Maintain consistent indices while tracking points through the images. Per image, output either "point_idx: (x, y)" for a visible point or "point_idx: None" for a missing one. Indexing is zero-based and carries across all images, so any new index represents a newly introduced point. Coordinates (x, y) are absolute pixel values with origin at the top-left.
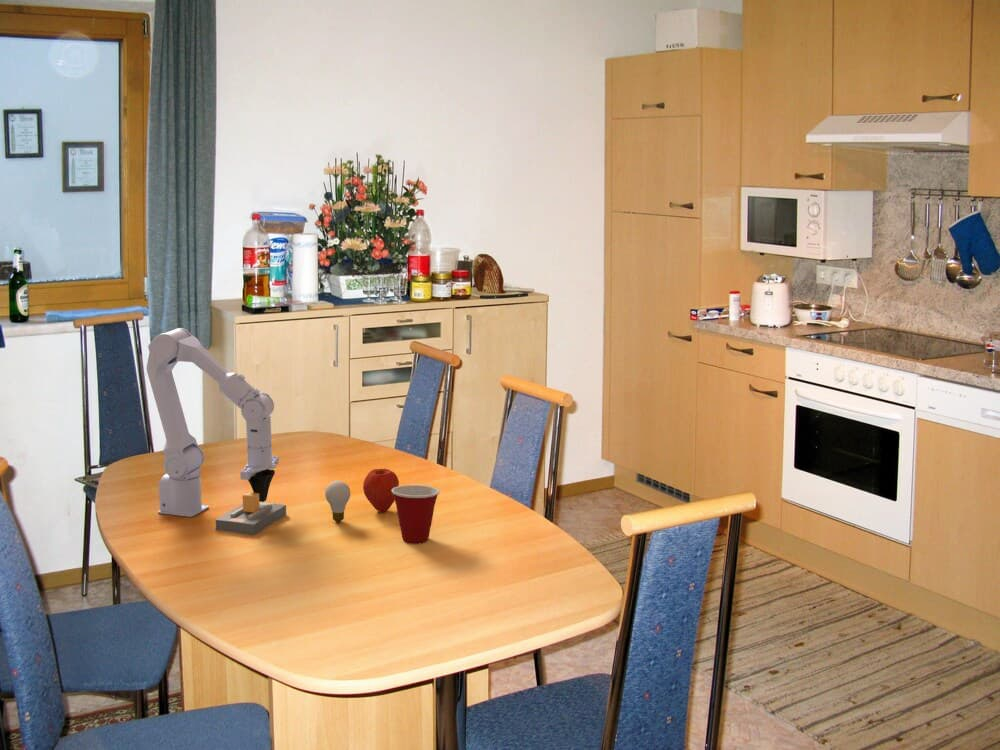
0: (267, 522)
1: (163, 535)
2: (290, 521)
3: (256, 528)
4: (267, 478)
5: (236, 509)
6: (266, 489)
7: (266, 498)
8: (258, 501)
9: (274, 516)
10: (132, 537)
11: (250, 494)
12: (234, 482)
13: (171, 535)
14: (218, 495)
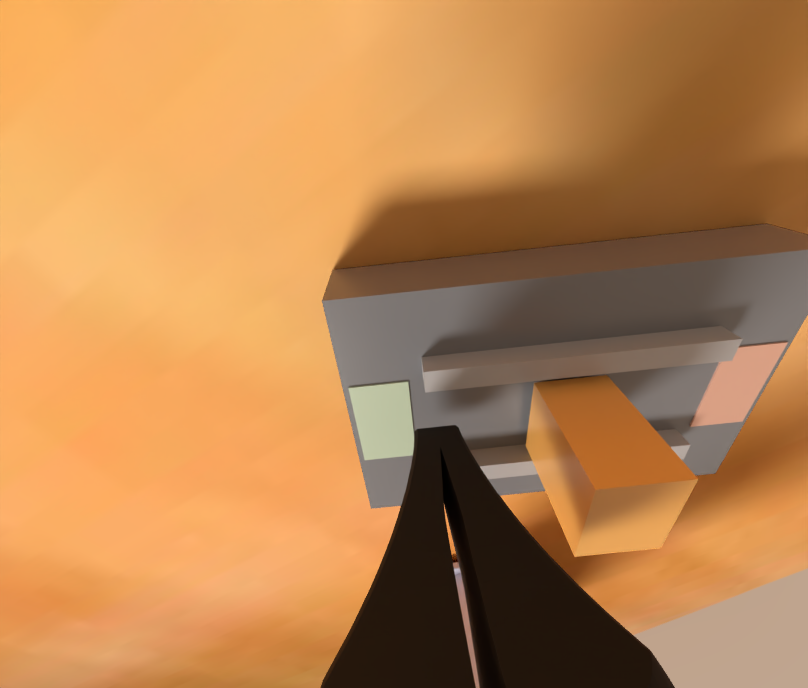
0: (606, 251)
1: (740, 522)
2: (439, 154)
3: (768, 237)
4: (550, 647)
5: (530, 482)
6: (443, 502)
7: (420, 437)
8: (577, 428)
9: (507, 266)
10: (754, 563)
11: (642, 519)
12: (142, 629)
13: (741, 507)
14: (285, 601)
